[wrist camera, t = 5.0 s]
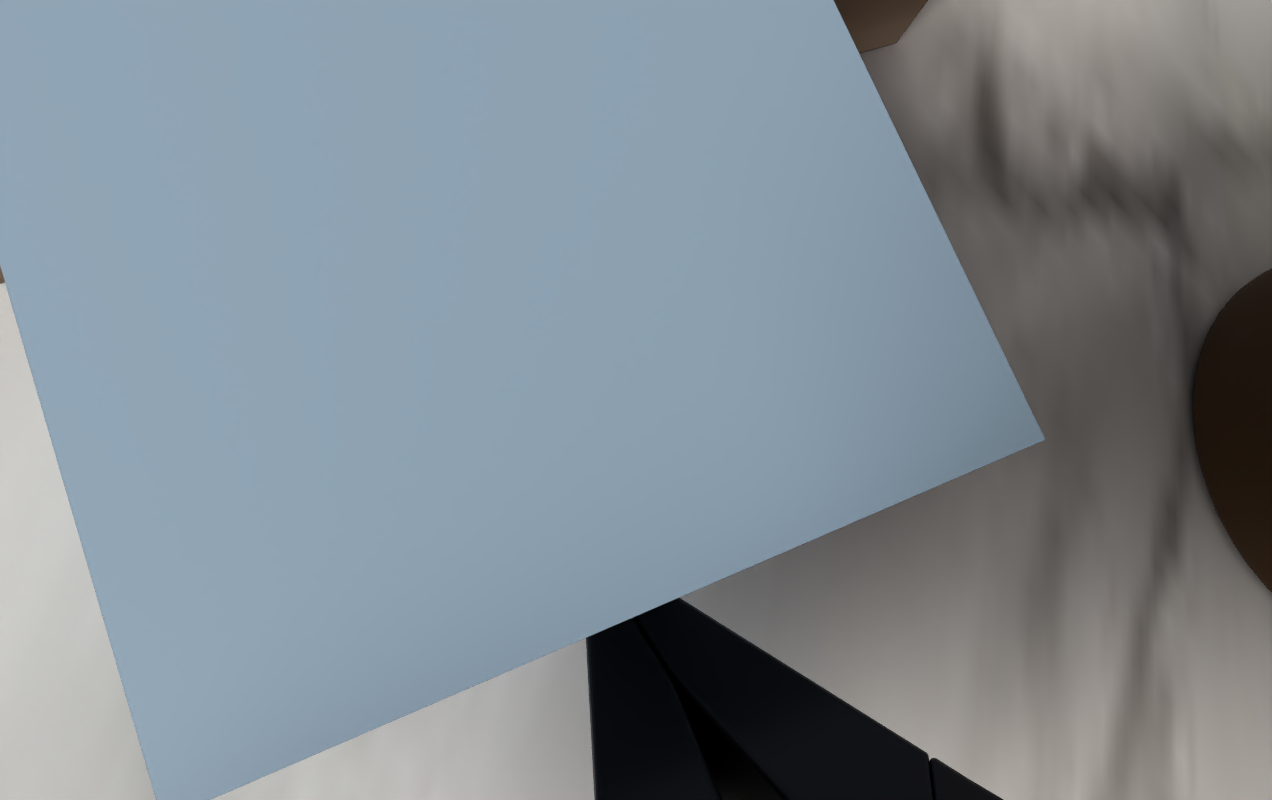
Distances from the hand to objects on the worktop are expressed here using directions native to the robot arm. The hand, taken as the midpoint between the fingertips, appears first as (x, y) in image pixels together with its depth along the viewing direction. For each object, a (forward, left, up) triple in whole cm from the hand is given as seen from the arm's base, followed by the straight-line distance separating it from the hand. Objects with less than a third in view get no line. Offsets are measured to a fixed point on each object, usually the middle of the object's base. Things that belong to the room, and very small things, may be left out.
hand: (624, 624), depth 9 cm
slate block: (+4, -2, -7) cm, 8 cm away
